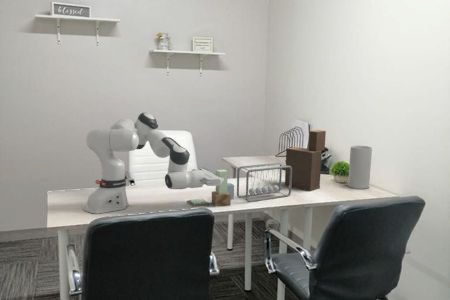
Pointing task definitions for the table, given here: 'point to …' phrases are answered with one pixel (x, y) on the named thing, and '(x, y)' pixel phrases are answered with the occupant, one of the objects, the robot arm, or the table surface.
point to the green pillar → (223, 187)
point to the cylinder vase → (359, 167)
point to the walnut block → (221, 199)
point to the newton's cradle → (264, 189)
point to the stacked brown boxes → (306, 163)
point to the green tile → (197, 202)
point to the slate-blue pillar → (230, 190)
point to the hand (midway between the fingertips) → (222, 176)
